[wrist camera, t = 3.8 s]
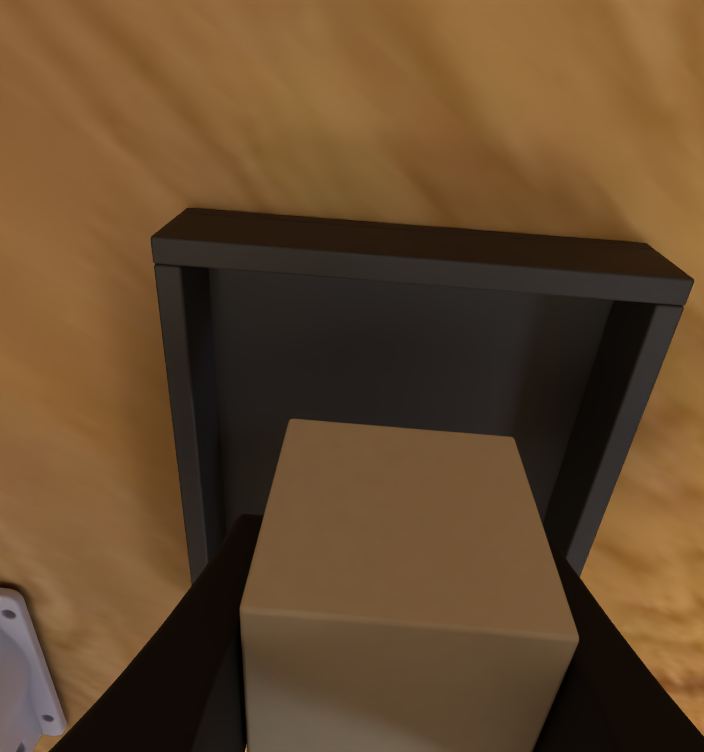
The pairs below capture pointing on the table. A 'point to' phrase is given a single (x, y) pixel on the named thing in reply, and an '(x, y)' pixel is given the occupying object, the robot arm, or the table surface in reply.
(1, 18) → the table surface
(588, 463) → the tray
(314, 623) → the cream block
